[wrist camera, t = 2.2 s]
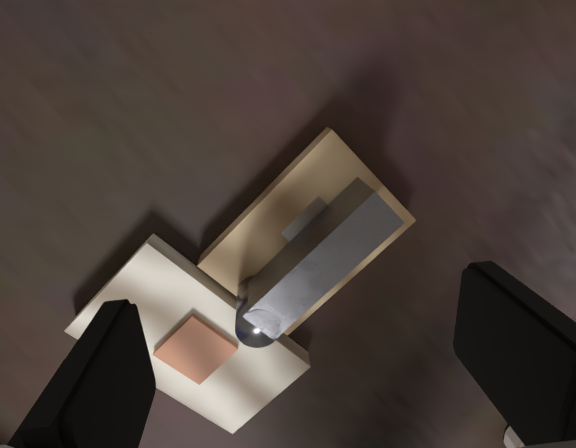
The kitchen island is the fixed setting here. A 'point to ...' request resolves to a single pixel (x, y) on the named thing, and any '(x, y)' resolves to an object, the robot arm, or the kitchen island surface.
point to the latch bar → (312, 263)
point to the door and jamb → (233, 291)
